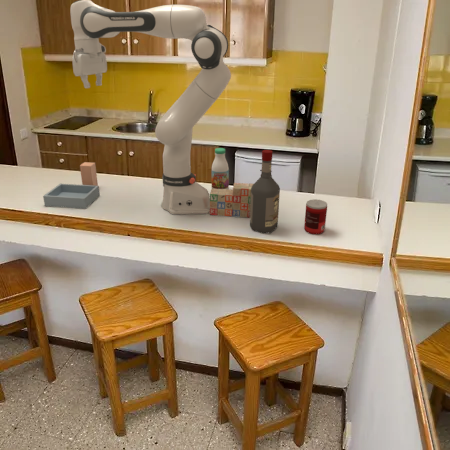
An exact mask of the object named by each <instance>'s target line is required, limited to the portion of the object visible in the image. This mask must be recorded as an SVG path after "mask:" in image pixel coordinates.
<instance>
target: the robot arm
mask: <svg viewBox="0 0 450 450" xmlns="http://www.w3.org/2000/svg"><path fill="white" fill-rule="evenodd" d="M69 9H70V13H69V14H70V23H71V27H72V30H73V35H74V37H73V40H74V41H73V42H74V51H73V55H72V57H71V58H72V70H73V75H74V76H75V77H80V79H81V82H82V83H83V87H84V88H85V89H90V88H91V83H90V82H89V80H88V78H89V76H91V75H95V77H96V81H95V86H96V87H98V86H102V85H103V83H102V81H103V73H107V71H108V62H107V56H106V52H107V49H106V46H105V45H103V44H102V43H101V42H100V41H99V39H100V38H101V39H102V38H106V39H107V38H109V39H110V38H115V37H117V36H119V34H120V33H130V32H131V33H140V34H145V35H148V36H153V37H158V38H163V39H171V40H172V39H174V40H175V39H176V40H177V39H185V40H189V41H191V46H190V47H191V52H192V55H193V57H194V59H195V60H196V62H197V63H198V65H199V67H200V68H201V70H200V71H199V72H198V74H197V75H196V76H195V78H194V79H192V81H191V82H190V84H189V85H188V86H187V88H186V89H185V90H184V91H183V93H181V95H180V96H179V98H177V99H176V100H175V102H174V103H173V104H172V105H171V106H170V108H168V109H167V111H166V112H165V113H164V114H163V116H162V117H161V118H159V121H158V122H157V124H156V126H155V131H154V132H155V133H154V134H155V137H156V139H157V140H158V142H160V144H162V145H164V147H163V153H162V168H163V170H162V171H163V173H162V186H163V195H162V201H161V204H160V205H161V208H162V209H163V210H165V211H167V212H169V213H170V214H172V215H196V214H197V215H200V214H206V215H207V214H210V193H209V191H208V189H207V188H205V187H204V186H203V185H201V184H200V183H199V182H197V179H196V178H197V177H196V176H197V175H196V173H192V172H191V171H192V170H191V169H192V167H191V152H192V149H191V148H192V141H193V129H194V127H195V125H197V123H198V122H199V121H200V119H202V118H203V116H204V115H205V114H206V112H208V110H209V109H210V108H211V107H212V106H213V105H214V103H215V102H216V101H217V100H218V99H219V98H220V96H221V95H222V93H223V92H224V91H225V89H226V87H227V86H228V84H229V82H230V80H231V77H232V74H231V70H230V68H229V67H228V65H227V64H225V61H224V57H225V55H226V54H227V53H228V51H229V50H228V49H229V41H228V38H227V36H226V35H225V34H224V32H223V31H221V30H219V29H217V28H216V27H215V26H213V25H211V24H207V17H206V13H205V12H204V10H203V9H202V8H201V7H199V6H195V5H189V4H166V5H159V6H155V7H150V8H146V9H142V10H138V11H137V10H136V11H115V10H112V9H108V8H106V7H103V6H100V5H98V4H95V3H94V1H92V0H76V1H74V2H73V3H72V4H71V5H70V8H69Z"/></svg>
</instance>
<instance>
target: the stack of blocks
mask: <svg viewBox="0 0 450 450" xmlns="http://www.w3.org/2000/svg"><path fill="white" fill-rule="evenodd" d="M253 184H254V183H253V182H252V183H251V182H250V183H249V182H248V183H246V182H245V183H243V182H233V187H232V189H229V190H227V189H212V188H211V189H210V193H209V197H210V212H209V215H210V216H220V217H221V216H222V217H235V218H237V217H239V218H249V219H250V206H251V188H252V185H253Z"/></svg>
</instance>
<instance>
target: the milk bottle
mask: <svg viewBox="0 0 450 450" xmlns="http://www.w3.org/2000/svg"><path fill="white" fill-rule="evenodd" d="M214 155H215V157H214V159H213V162H212V164H211V189H227V190H230V188H229V183H230V182H229V181H230V179H229V178H230V177H229V176H230V174H229V173H230V172H229V171H230V169H229V164H228V161H227V159H226V148H225V147H224V148H223V147H216V148H215V149H214Z"/></svg>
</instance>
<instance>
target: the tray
mask: <svg viewBox="0 0 450 450" xmlns="http://www.w3.org/2000/svg"><path fill="white" fill-rule="evenodd" d="M100 194H101V193H100V186H99V185H98V186H93V185H82V184H75V183H74V184H72V183H70V184H69V183H59V184H58V185H56V186H54V188H51V190H49V191H48V192H46V193H45V194H43V196H42V197H43V204H44V206H45V207H53V208H55V207H56V208H68V209H69V208H70V209H84V210H85V209H87V208H88V207H90V205H91V204H92V203H94V202H95V201H96V200H97V199H98V197H100Z"/></svg>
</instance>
